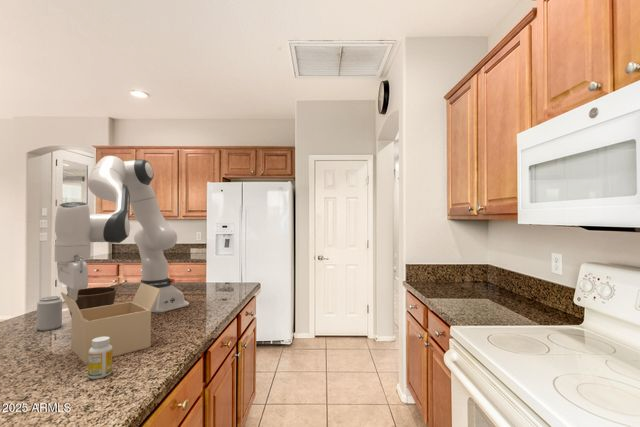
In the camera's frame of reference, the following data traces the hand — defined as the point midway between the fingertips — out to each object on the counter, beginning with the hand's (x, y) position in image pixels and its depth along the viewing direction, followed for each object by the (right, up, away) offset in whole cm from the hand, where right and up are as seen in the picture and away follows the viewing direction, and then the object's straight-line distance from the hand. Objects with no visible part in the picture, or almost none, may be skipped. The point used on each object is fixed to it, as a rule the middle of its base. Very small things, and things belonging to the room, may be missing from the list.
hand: (72, 300), depth 101 cm
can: (-29, -18, +27) cm, 44 cm away
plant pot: (-8, -18, +20) cm, 28 cm away
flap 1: (0, -2, +1) cm, 2 cm away
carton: (+7, -18, +8) cm, 20 cm away
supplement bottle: (+16, -17, -12) cm, 26 cm away
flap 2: (+14, -2, +16) cm, 21 cm away
